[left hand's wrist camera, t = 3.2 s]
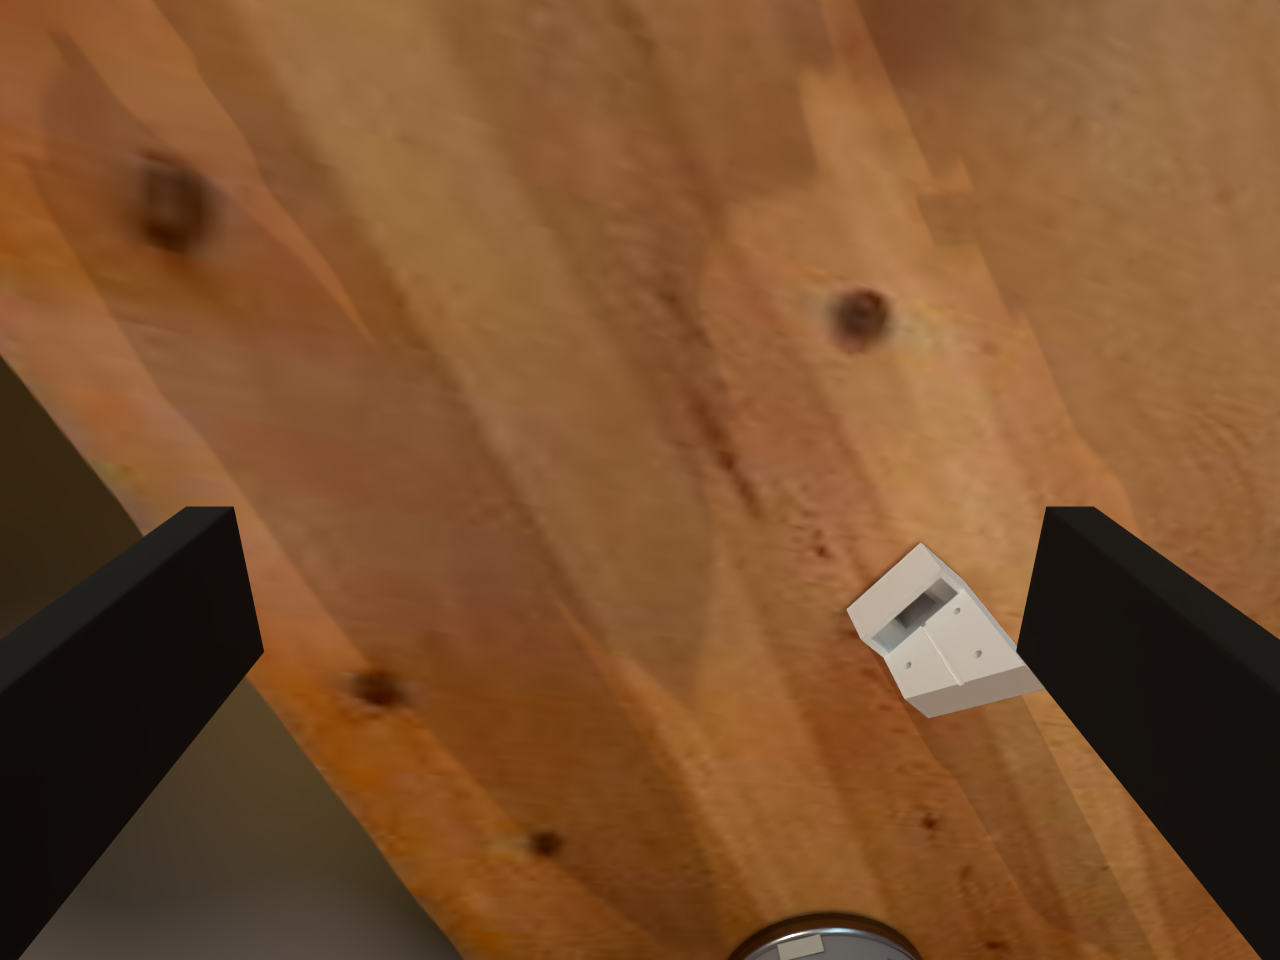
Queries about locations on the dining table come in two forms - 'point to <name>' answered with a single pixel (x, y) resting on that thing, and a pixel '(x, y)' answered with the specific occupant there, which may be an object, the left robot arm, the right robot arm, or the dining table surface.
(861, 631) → the white angled block
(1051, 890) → the dining table surface
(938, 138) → the dining table surface
